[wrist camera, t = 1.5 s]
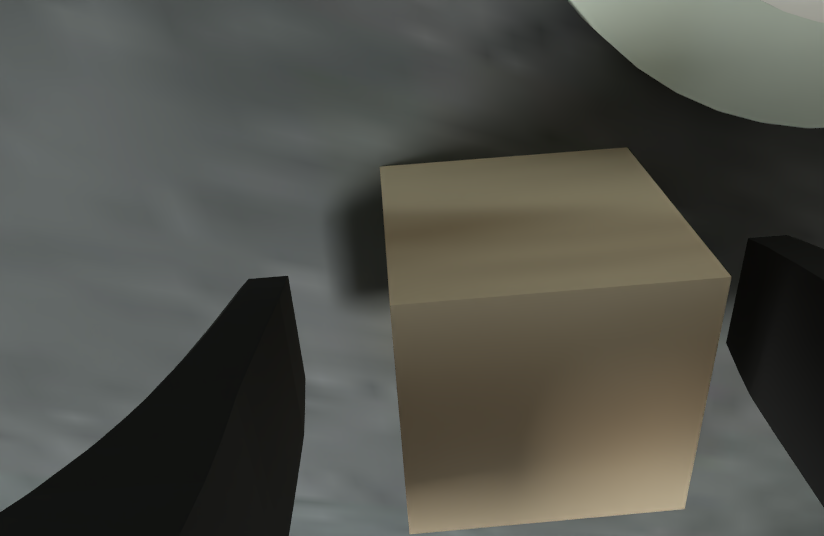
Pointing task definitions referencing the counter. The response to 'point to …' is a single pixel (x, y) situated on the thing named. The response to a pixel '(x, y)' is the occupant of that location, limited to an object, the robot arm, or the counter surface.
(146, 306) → the counter surface
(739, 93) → the dish
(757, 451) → the counter surface
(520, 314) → the block
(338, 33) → the counter surface
